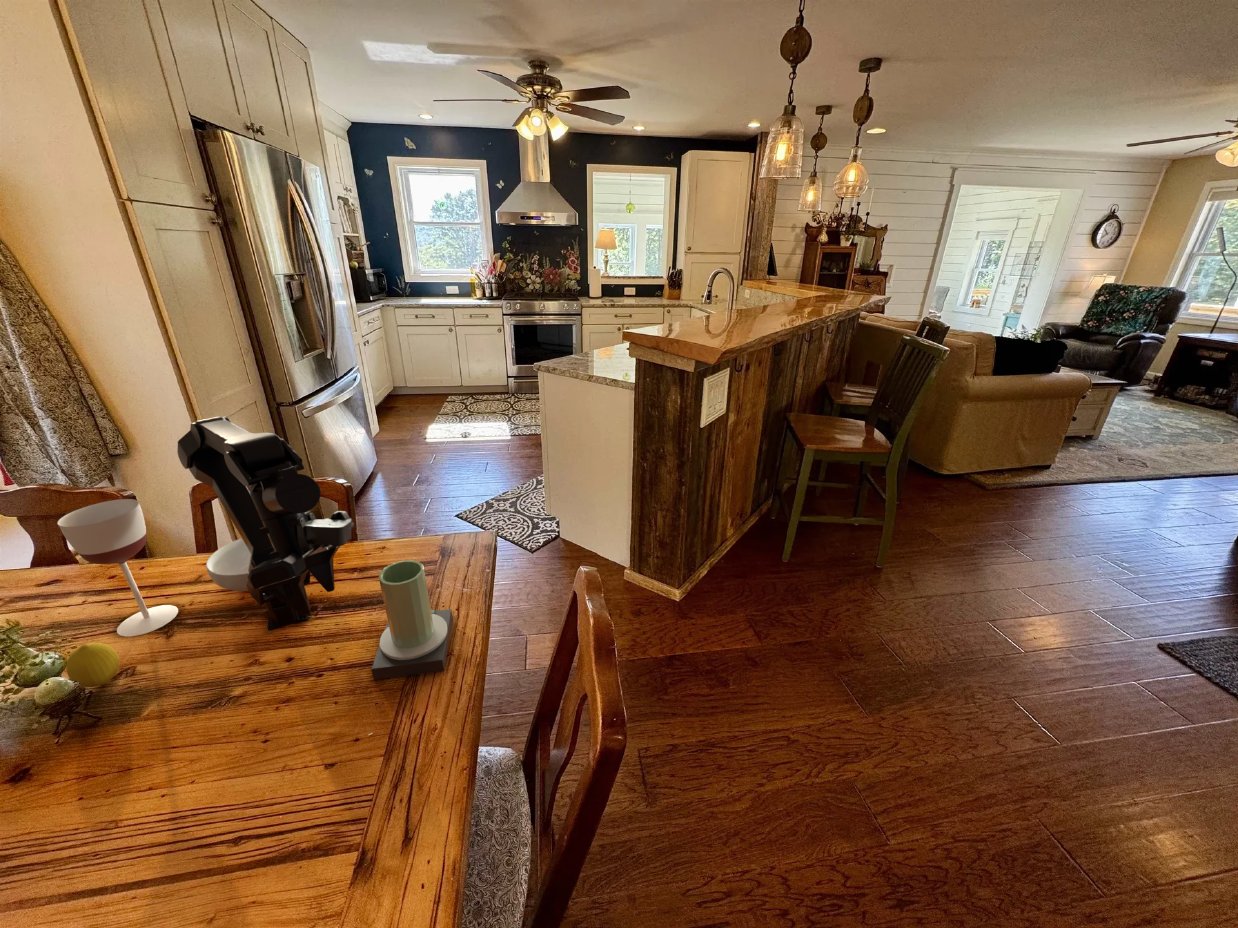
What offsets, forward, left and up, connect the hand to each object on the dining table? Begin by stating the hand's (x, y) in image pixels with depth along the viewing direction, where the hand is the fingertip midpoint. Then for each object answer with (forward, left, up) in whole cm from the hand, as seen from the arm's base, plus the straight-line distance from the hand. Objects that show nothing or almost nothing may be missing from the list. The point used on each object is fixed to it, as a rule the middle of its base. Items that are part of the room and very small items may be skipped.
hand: (320, 602), depth 81 cm
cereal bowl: (-31, -12, -12) cm, 36 cm away
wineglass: (-26, -30, -12) cm, 42 cm away
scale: (+5, +13, -11) cm, 18 cm away
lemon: (-10, -32, -12) cm, 36 cm away
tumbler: (+5, +13, -8) cm, 16 cm away
